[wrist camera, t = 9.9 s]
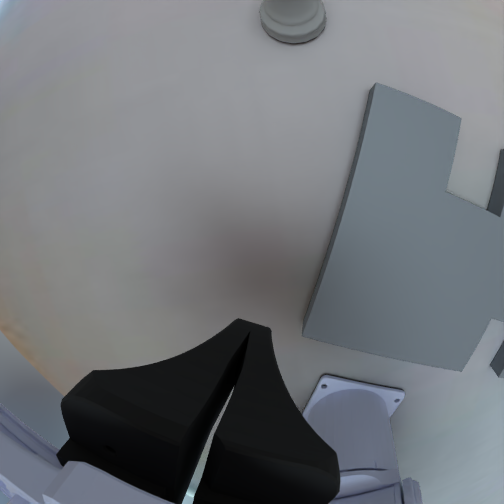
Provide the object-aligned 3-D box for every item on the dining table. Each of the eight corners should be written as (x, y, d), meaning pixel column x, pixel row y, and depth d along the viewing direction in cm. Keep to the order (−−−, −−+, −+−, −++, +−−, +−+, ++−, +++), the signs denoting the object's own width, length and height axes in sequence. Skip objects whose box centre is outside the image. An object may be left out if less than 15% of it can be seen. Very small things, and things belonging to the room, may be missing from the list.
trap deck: (528, 371, 19) (536, 381, 17) (303, 322, 22) (301, 336, 20) (590, 217, 14) (603, 221, 12) (370, 89, 17) (376, 82, 15)
